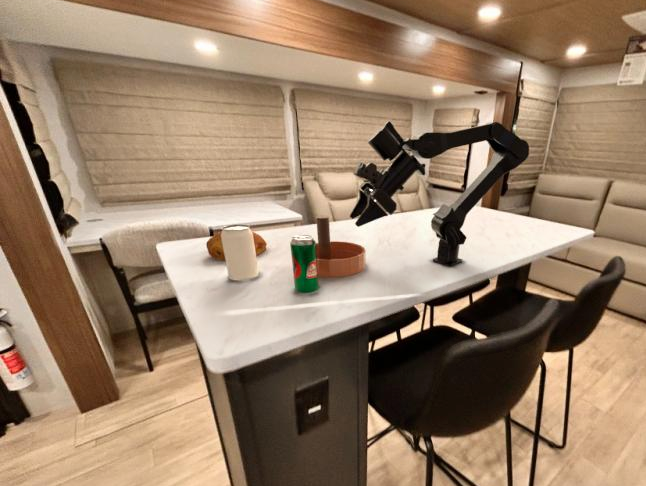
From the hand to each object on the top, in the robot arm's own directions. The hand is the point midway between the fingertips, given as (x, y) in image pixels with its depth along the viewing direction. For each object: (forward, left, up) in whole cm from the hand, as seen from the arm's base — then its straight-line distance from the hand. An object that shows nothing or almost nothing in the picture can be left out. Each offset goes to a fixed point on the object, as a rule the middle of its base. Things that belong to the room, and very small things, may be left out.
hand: (353, 221), depth 78 cm
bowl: (+4, -3, -12) cm, 13 cm away
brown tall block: (+6, -4, -12) cm, 14 cm away
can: (+23, -13, -13) cm, 30 cm away
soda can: (+17, +4, -13) cm, 22 cm away
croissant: (+16, -31, -13) cm, 37 cm away
